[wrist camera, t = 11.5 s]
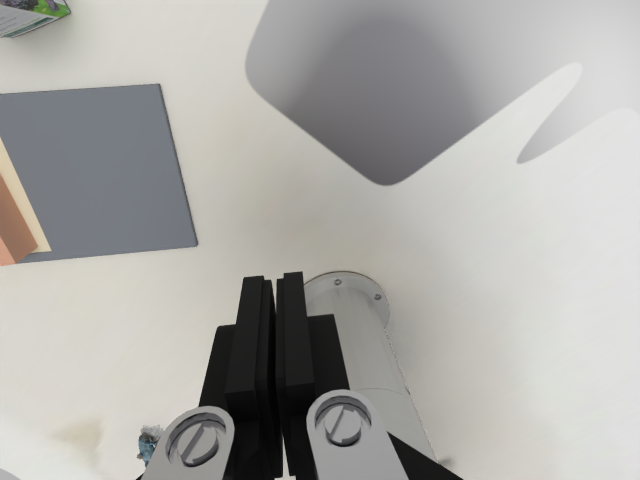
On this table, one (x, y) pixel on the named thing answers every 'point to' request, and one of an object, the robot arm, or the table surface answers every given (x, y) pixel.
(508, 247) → the table surface
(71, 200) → the mat
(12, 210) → the tee
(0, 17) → the syrup box
